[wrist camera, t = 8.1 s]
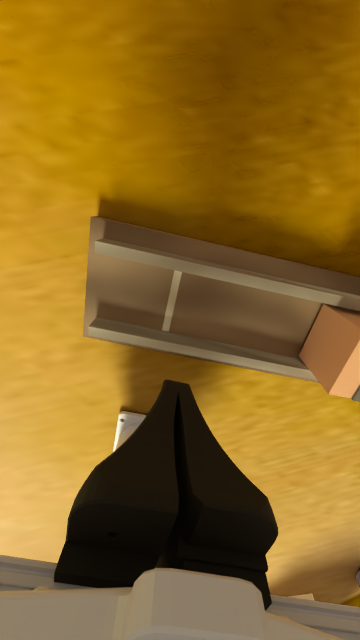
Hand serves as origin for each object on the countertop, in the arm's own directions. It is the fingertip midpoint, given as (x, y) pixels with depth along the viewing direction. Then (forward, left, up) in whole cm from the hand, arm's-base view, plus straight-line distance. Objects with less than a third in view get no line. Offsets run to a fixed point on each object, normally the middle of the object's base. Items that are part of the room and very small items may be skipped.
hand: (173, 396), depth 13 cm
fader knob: (+2, -13, -9) cm, 16 cm away
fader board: (+2, -6, -10) cm, 12 cm away
